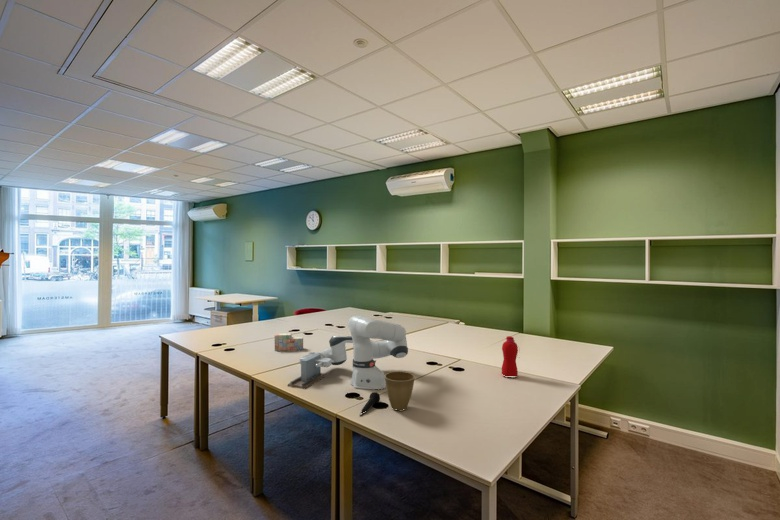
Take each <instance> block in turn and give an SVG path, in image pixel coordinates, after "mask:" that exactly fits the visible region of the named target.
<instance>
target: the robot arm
mask: <svg viewBox="0 0 780 520" xmlns="http://www.w3.org/2000/svg"><path fill="white" fill-rule="evenodd" d="M347 327H348V329H349V332H350V335H351V336H350V335H348V336H347V335H340V334H337V335H336V334H335V335H333V336H331V337H330V339H329V341H328V342H329V347H328V348H327V347H326V348H324V349H323V350H320V351H317V352H309V353H307V354H305V355H302V356H301V357H300V358H299V364H300V365H301V360H303V359H305V358H307V357H310V356H312V355H314V354H321V356H320V359H317V360H315V361H316V364H315V367H321V368H329V367H331V366H332V365H333V366H340V365H343V364H345V362H347V359H348V357H347V355H348V354H347V350H346V347H347V346H346V344H353V346H352V347H353V359H352V373H351V374H352V375H351V379H350V385H352V386H353V387H354V389H359V390H361V389H362V390H375V389H378V390H379V389H381V390H383V388H384V389H386V383H385V373H384V371H383V370H381V369H379V367H377V365H376V363H377V360H374V359H383V358H387V357H389V356H392V357H394V358H397V359H401V358H404V357H406V356H408V354H409V347H408V342H407V341H408V340H407V336H406V335H407V331H406V328H405V327H404V326H402V325H401V324H398V323H394V322H389V321H386V320H385V321H384V320H381V319H373V318H369V317H366V316H363V315H353V316H351V317H350V318H349V319H348V322H347ZM371 339H373V340H371ZM374 339H375V341H374ZM378 390H377V391H378Z"/></svg>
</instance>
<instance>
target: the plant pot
mask: <svg viewBox="0 0 780 520" xmlns="http://www.w3.org/2000/svg"><path fill="white" fill-rule="evenodd" d="M384 376H385V383H386V387H385V389H386V393H387V398H388V401H389V404H390V407H391V409H392V408H393V409H397V410H403V409H406V410H407V408H408V406H409V403H410V400H411V397H412V393H413V389H414V384H415V380H416V379H415V375H414V374H412V373H411V372H407V371H391V372H388V373H386V374H384ZM393 409H392V410H393ZM403 411H404V410H403Z"/></svg>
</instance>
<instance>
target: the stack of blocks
mask: <svg viewBox="0 0 780 520" xmlns="http://www.w3.org/2000/svg"><path fill="white" fill-rule="evenodd" d="M303 349H304V336H293V335H292V333H291V332H290V333H289V332H288V333H275V335H274V351H275V352H280V350H288V351H303ZM277 350H278V351H277Z"/></svg>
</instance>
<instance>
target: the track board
mask: <svg viewBox="0 0 780 520" xmlns="http://www.w3.org/2000/svg"><path fill="white" fill-rule="evenodd" d="M323 377H324V378H325V376H324V375H322V372H321V373H319V374H317V375H316V376H314V377H312V378H310V379H309V380H307V381H301V375H300V376H299V377H296V378H295V379H293V380H292V381H290V382H289V383H288V384H287V387H291V386H292V388H299V389H304V388H305V389H308V388H309V387H311V386H313V385H314V384H315V382H316V383H318V382H319V381H320V379H321V380H322V379H324V378H323ZM312 384H313V385H312Z"/></svg>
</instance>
